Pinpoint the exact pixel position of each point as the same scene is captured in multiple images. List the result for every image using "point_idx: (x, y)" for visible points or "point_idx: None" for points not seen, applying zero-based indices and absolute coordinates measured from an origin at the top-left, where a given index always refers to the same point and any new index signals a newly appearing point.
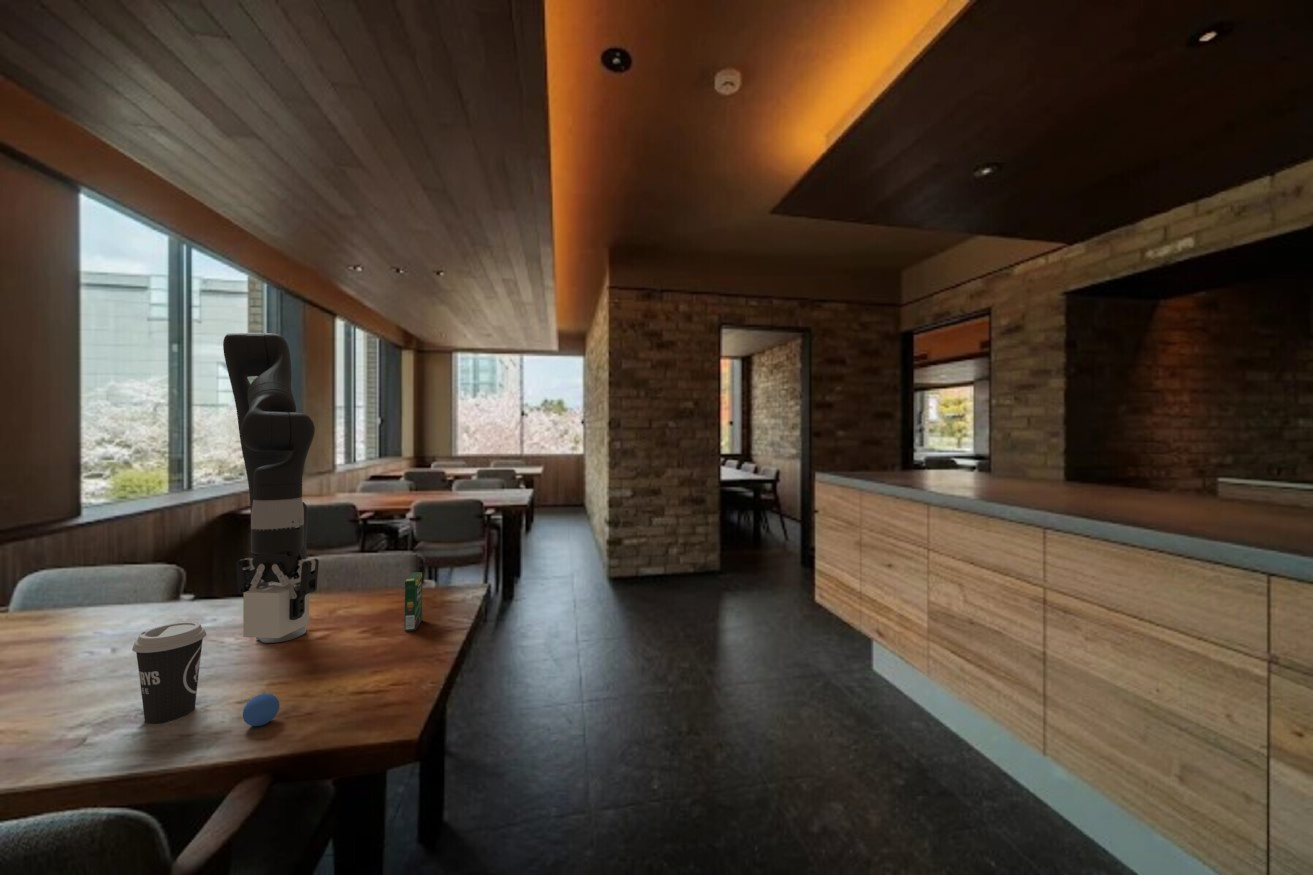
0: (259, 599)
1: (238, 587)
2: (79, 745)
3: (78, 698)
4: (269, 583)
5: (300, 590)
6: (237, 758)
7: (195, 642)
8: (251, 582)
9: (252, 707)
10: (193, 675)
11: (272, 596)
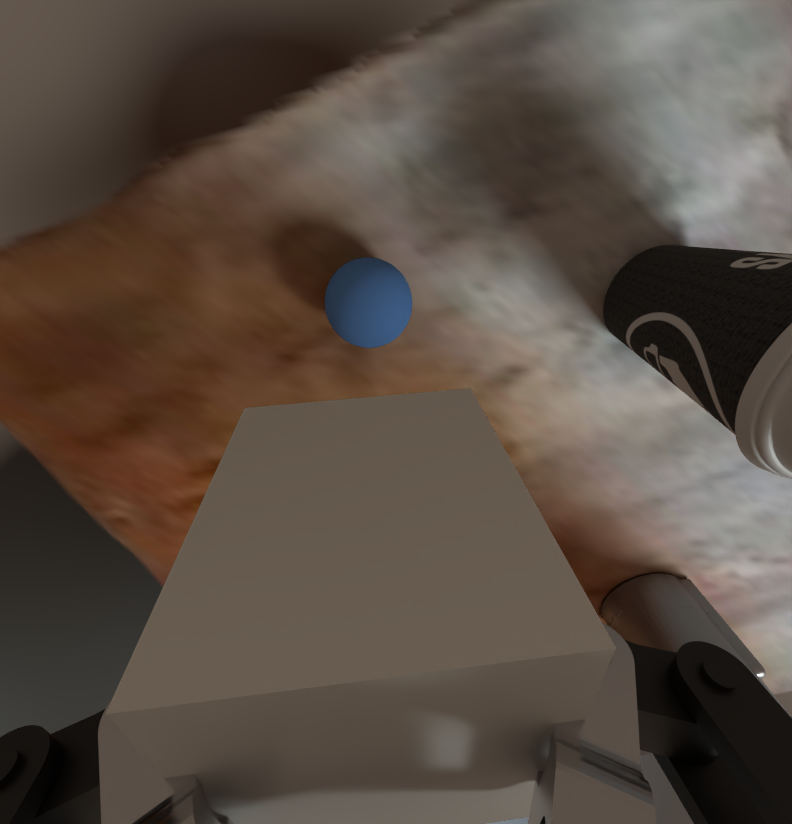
0: (388, 597)
1: (771, 708)
2: (780, 113)
3: None
4: (532, 803)
5: (21, 792)
6: (269, 125)
7: (744, 395)
8: (647, 817)
9: (361, 273)
10: (659, 346)
11: (219, 655)
